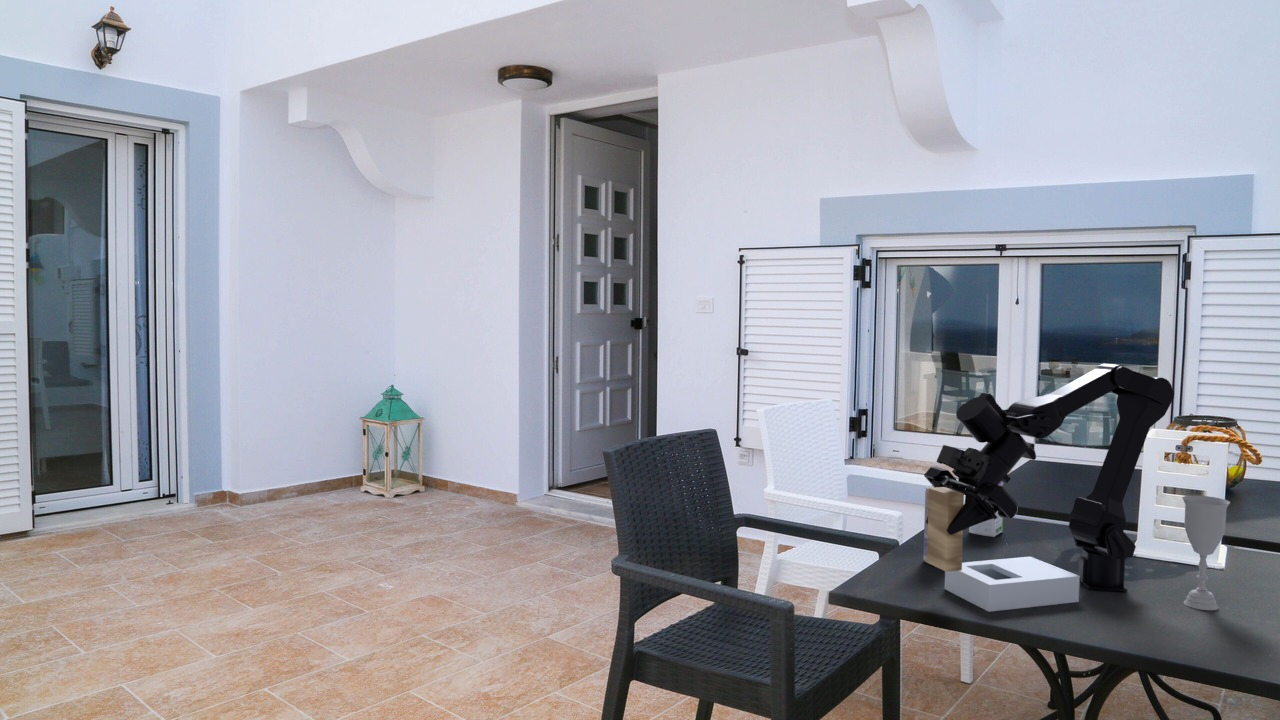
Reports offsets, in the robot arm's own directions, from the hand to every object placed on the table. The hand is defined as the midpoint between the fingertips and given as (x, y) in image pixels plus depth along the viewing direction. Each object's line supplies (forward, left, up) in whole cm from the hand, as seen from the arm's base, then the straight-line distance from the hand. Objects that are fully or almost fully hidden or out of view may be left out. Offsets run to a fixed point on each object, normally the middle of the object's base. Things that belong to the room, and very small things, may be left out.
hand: (937, 528), depth 149 cm
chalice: (-44, -7, -13) cm, 47 cm away
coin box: (-13, -7, -13) cm, 20 cm away
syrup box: (-18, -50, -13) cm, 55 cm away
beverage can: (-4, -24, -13) cm, 28 cm away
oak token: (-1, -1, -7) cm, 7 cm away
